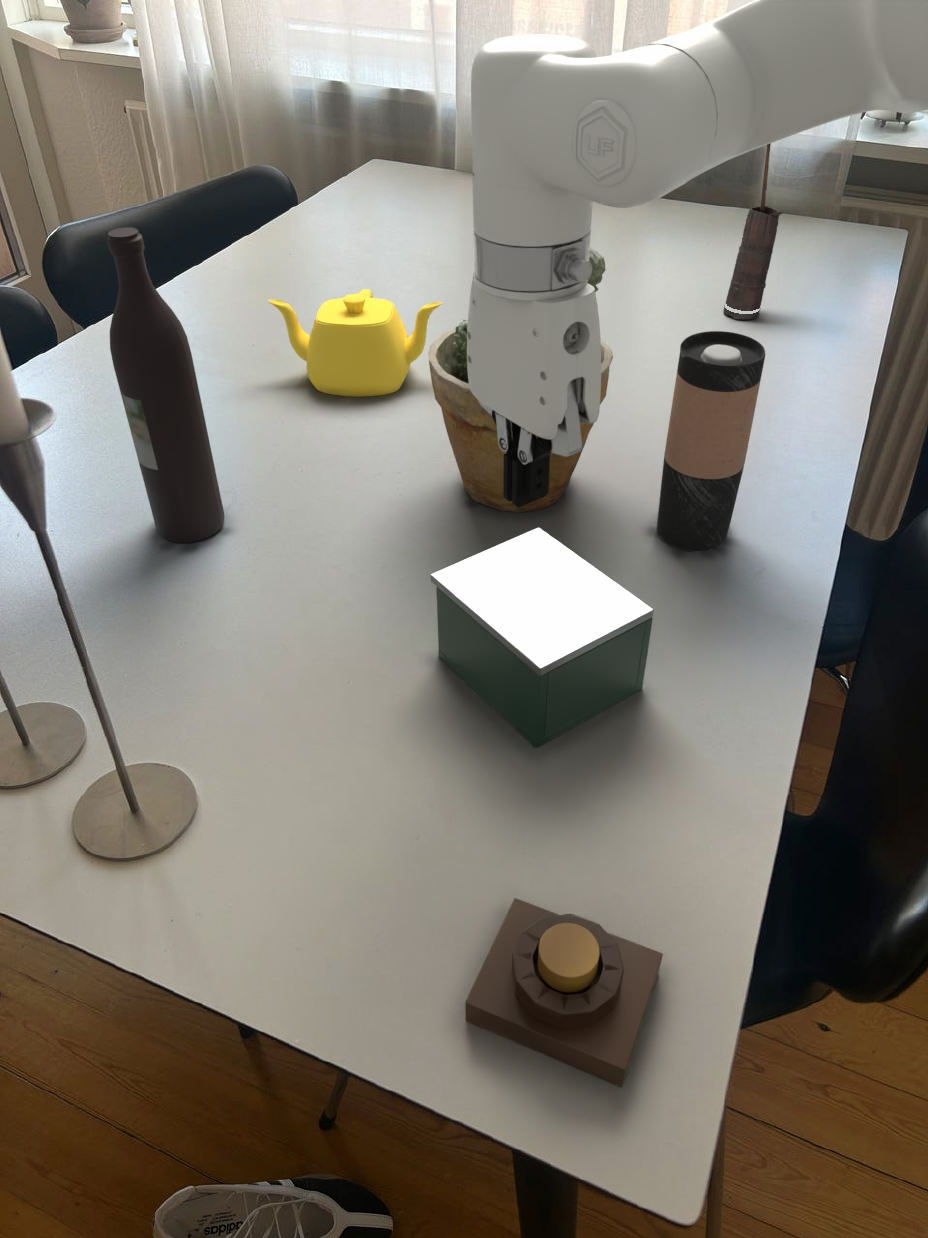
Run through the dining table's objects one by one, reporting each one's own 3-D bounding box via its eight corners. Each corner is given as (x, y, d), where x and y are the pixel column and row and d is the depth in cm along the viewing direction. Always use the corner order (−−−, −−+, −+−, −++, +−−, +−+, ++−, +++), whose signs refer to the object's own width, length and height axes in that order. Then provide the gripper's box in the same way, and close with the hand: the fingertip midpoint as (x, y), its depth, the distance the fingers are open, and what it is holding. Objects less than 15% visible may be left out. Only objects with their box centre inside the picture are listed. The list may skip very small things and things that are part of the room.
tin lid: (430, 581, 80) (430, 574, 80) (538, 534, 86) (538, 526, 85) (539, 677, 71) (540, 669, 71) (653, 617, 77) (654, 609, 76)
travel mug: (744, 532, 99) (784, 347, 86) (699, 563, 95) (734, 374, 82) (683, 502, 103) (712, 322, 90) (638, 531, 99) (662, 347, 86)
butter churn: (794, 322, 139) (841, 107, 121) (738, 332, 137) (777, 114, 119) (757, 299, 146) (796, 92, 128) (703, 308, 143) (735, 99, 125)
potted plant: (538, 553, 97) (550, 311, 81) (396, 494, 105) (381, 265, 89) (629, 475, 108) (655, 248, 92) (494, 427, 116) (496, 213, 100)
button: (605, 951, 59) (607, 935, 58) (586, 1002, 56) (588, 987, 55) (549, 930, 60) (551, 914, 59) (528, 979, 58) (529, 963, 56)
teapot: (449, 349, 133) (447, 270, 127) (440, 401, 122) (437, 318, 115) (292, 346, 135) (282, 268, 128) (268, 397, 123) (255, 315, 116)
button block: (659, 972, 62) (666, 937, 59) (622, 1088, 56) (628, 1055, 54) (513, 916, 65) (515, 881, 62) (465, 1021, 59) (464, 987, 57)
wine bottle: (175, 503, 104) (105, 216, 85) (236, 510, 103) (179, 221, 84) (144, 540, 99) (63, 243, 80) (208, 548, 98) (141, 248, 78)
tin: (438, 656, 85) (435, 586, 80) (540, 606, 90) (544, 538, 85) (535, 749, 76) (539, 677, 71) (642, 688, 82) (653, 617, 77)
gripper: (654, 276, 60) (628, 523, 71) (506, 217, 69) (505, 444, 81) (561, 305, 56) (550, 560, 68) (419, 240, 66) (431, 473, 78)
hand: (525, 496), depth 74 cm, fingers closed
